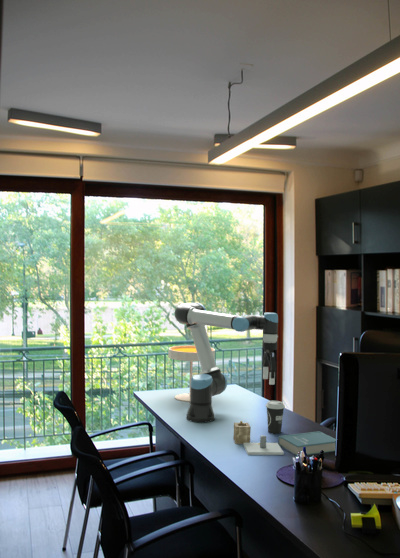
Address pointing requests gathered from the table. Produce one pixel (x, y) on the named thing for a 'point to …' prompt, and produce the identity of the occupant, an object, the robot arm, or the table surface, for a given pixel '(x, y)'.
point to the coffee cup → (275, 416)
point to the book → (307, 442)
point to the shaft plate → (263, 448)
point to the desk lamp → (185, 355)
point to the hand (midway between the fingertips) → (268, 381)
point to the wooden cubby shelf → (241, 433)
